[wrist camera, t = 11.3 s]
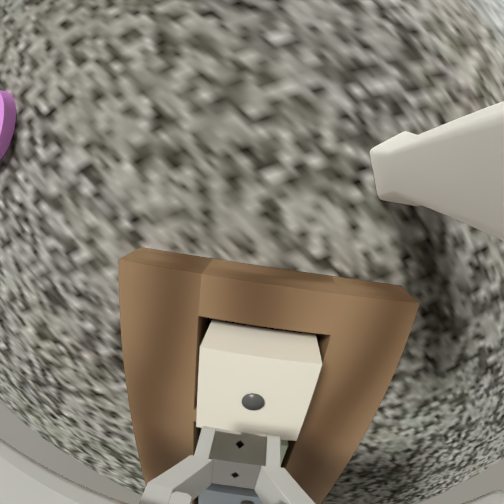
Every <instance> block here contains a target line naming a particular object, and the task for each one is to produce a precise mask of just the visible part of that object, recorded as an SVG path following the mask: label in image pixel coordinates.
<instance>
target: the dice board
mask: <svg viewBox="0 0 504 504" xmlns="http://www.w3.org/2000/svg"><path fill="white" fill-rule="evenodd" d="M119 304H120V323H121V338H122V350H123V360H124V369H125V378H126V386H127V393H128V400H129V406H130V413H131V419H132V424H133V430H134V435H135V440H136V445H137V450H138V454H139V459H140V463H141V468H142V472H143V476H144V480H145V484H146V486H147V483H148V482H149V481H151V480H153V479H154V478H156V477H158V476H159V475H161V474H162V473H164V472H165V471H167V470H169V469H170V468H172V467H173V466H175V465H176V464H178V463H179V462H181V461H182V460H184V459H185V458H187V457H188V456H190V455H193V456H194V454H195V450H196V447H197V443H198V440H199V436H200V433H201V428H200V427H196V418H197V392H198V372H199V354H200V345H201V343H202V341H203V339H204V336H205V334H206V332H207V322H208V318H213V319H219V320H224V321H230V322H237V323H243V324H249V325H256V326H263V327H270V328H277V329H284V330H292V331H300V332H308V333H317V334H318V336H317V342H318V346H319V351H320V356H321V360H322V367H321V370H320V373H319V377H318V380H317V383H316V386H315V389H314V392H313V395H312V398H311V401H310V404H309V407H308V410H307V413H306V416H305V419H304V421H303V424H302V427H301V430H300V432H299V435H298V438H297V440H296V441H292V440H288V447H287V450H286V453H285V455H284V458H283V461H282V463H281V468H285V469H286V470H287V472H288V473H289V474H290V475H291V476H292V478H293V479H294V480H295V481H296V482H297V483H298V485H299V486H300V487H301V488H302V489H303V490H304V491H305V493H306V494H307V495H308V496H309V497H310V498H311V499H312V500H313V502H314V503H315V504H321V503H322V502H323V500H324V499H325V497H326V496H327V494H328V493H329V492H330V490H331V489H332V487H333V486H334V484H335V483H336V481H337V480H338V478H339V477H340V475H341V473H342V472H343V470H344V469H345V467H346V465H347V464H348V462H349V461H350V459H351V457H352V456H353V454H354V452H355V450H356V449H357V447H358V445H359V443H360V442H361V440H362V438H363V436H364V434H365V433H366V431H367V429H368V427H369V425H370V423H371V421H372V419H373V417H374V415H375V413H376V411H377V409H378V407H379V405H380V403H381V401H382V399H383V397H384V395H385V393H386V390H387V388H388V386H389V384H390V381H391V379H392V377H393V375H394V372H395V370H396V368H397V365H398V363H399V360H400V358H401V355H402V353H403V350H404V347H405V345H406V342H407V340H408V337H409V334H410V331H411V328H412V326H413V323H414V320H415V317H416V314H417V311H418V308H419V304H420V303H418V302H417V301H416V300H415V299H414V298H413V297H412V296H411V295H410V294H409V293H408V292H407V291H406V290H405V289H404V288H403V287H402V286H400V285H393V284H385V283H378V282H371V281H363V280H356V279H349V278H342V277H335V276H327V275H320V274H313V273H306V272H299V271H293V270H286V269H279V268H272V267H265V266H259V265H252V264H245V263H239V262H232V261H225V260H219V259H212V258H206V257H199V256H193V255H186V254H180V253H174V252H167V251H161V250H155V249H148V248H142V247H140V248H138V249H137V250H135V251H133V252H131V253H129V254H128V255H126V256H124V257H122V258H121V259H119ZM220 485H221V484H220ZM226 486H229V485H226ZM233 487H236V486H233ZM240 488H243V487H240ZM247 489H250V488H247ZM198 498H199V495H198V496H197V497H196V498H195V499H194V500H193V501H192V504H198Z"/></svg>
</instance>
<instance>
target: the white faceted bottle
mask: <svg viewBox="0 0 504 504" xmlns="http://www.w3.org/2000/svg"><path fill="white" fill-rule="evenodd" d="M370 158H371V163H372V168H373V173H374V178H375V184H376V189H377V195H378V198H379V199H381V200H384V201H389V202H395V203H401V204H406V205H412V206H421V205H422V206H425V207H427V208H430V209H432V210H435V211H437V212H440V213H442V214H445V215H447V216H449V217H452V218H454V219H456V220H459V221H461V222H463V223H466V224H468V225H470V226H472V227H474V228H477V229H479V230H481V231H483V232H485V233H487V234H489V235H492V236H494V237H496V238H498V239H500V240H502V241H504V101H503V102H500V103H497V104H495V105H492V106H489V107H487V108H484V109H481V110H479V111H476V112H474V113H471V114H469V115H466V116H463V117H461V118H458V119H456V120H453V121H451V122H448V123H446V124H443V125H441V126H439V127H436V128H434V129H431V130H429V131H426V132H424V133H422V134H419V135H416V134H413V133H410V132H406V131H405V132H402V133H400V134H398V135H396V136H394V137H392V138H390V139H389V140H387V141H385V142H383V143H381V144H379V145H377V146H375V147H373V148H372V149H371V150H370Z"/></svg>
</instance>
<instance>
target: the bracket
mask: <svg viewBox="0 0 504 504" xmlns="http://www.w3.org/2000/svg"><path fill="white" fill-rule="evenodd" d="M15 122H16V105H15V101H14V98H13V96H12V95H11V94H10V93H9V92H6V91H1V90H0V159H1V158H2V157H3V155H4V154H5V152H6V150H7V149H8V147H9V144H10V142H11V139H12V136H13V132H14V128H15Z"/></svg>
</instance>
